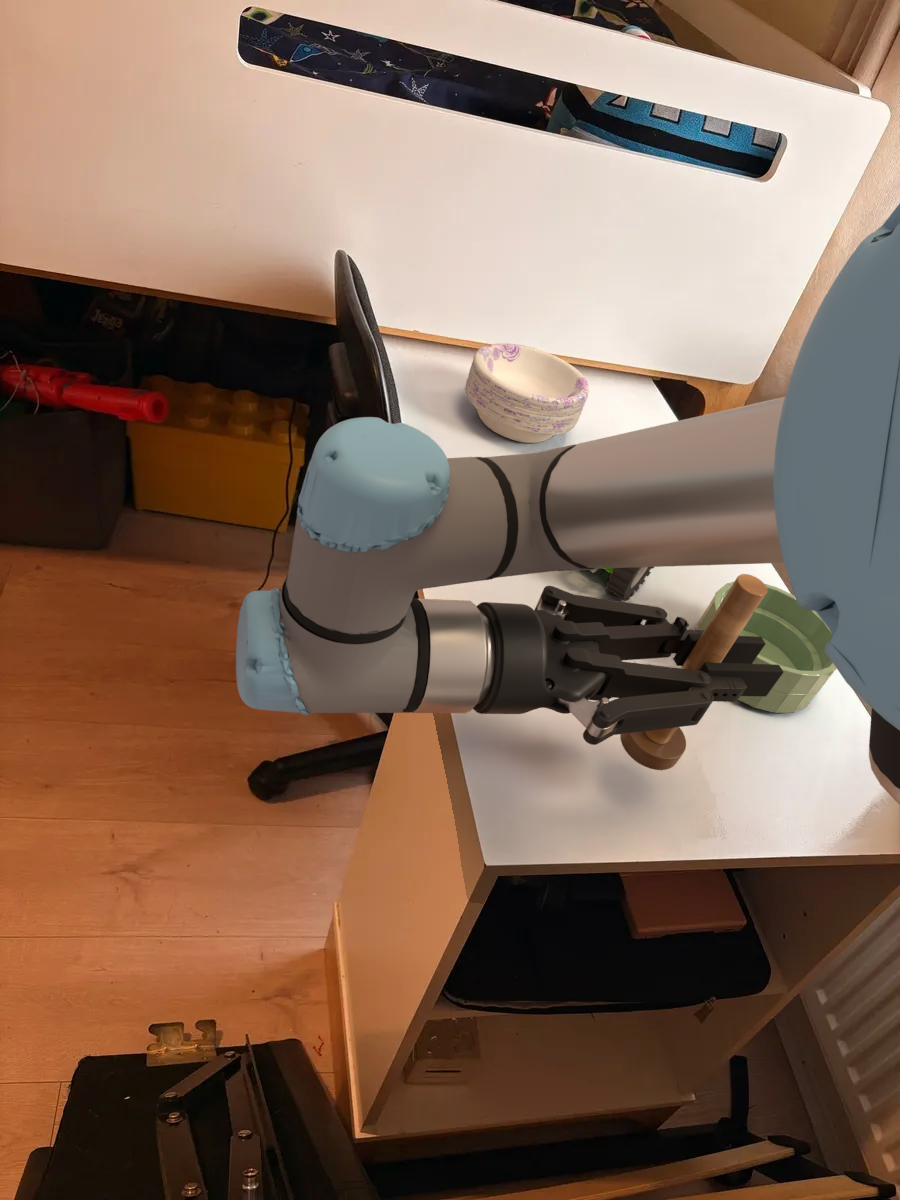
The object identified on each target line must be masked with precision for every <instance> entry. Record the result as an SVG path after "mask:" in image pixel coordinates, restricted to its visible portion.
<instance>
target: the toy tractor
mask: <svg viewBox="0 0 900 1200" xmlns="http://www.w3.org/2000/svg"><path fill="white" fill-rule="evenodd" d="M654 568H655V567H630V568H602V569H603V570H605V571H606V572H608V573H609V576H608V580H607V582H606V589H607V590H608V591H609V592H611V593H613V594H614V595H616V596H617V597H619V598H620V599H622V600H624V601H627V600H630V598H631V597H633V596H634V595H635V592H638V590H639V589H640V585H643V584H645V582H646V580H645V579H646V578H647V577H649V576H650V575H651V574H652V572H651V570H652V569H654ZM596 571H598V569H595V570H590V572H591V573H592V574H594V573H596Z"/></svg>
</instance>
